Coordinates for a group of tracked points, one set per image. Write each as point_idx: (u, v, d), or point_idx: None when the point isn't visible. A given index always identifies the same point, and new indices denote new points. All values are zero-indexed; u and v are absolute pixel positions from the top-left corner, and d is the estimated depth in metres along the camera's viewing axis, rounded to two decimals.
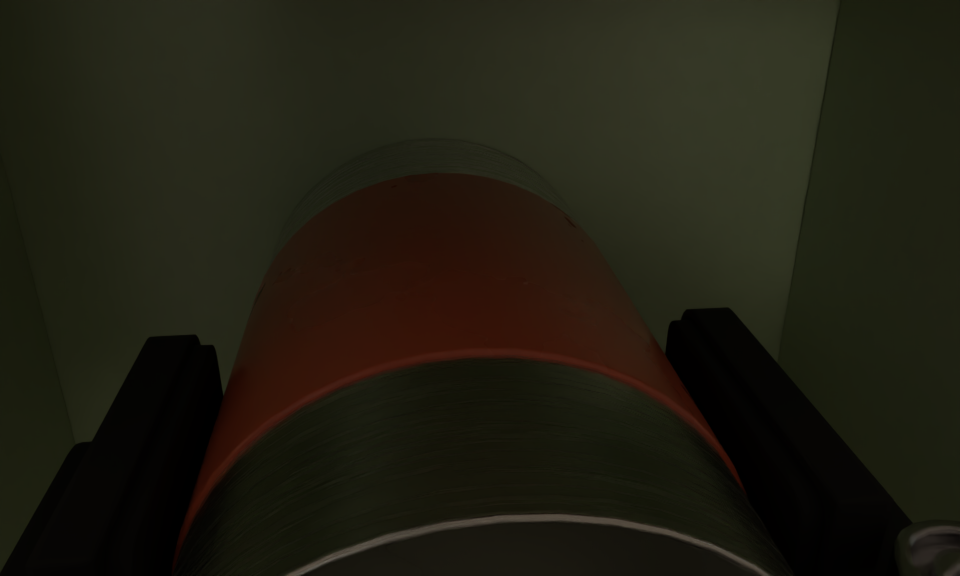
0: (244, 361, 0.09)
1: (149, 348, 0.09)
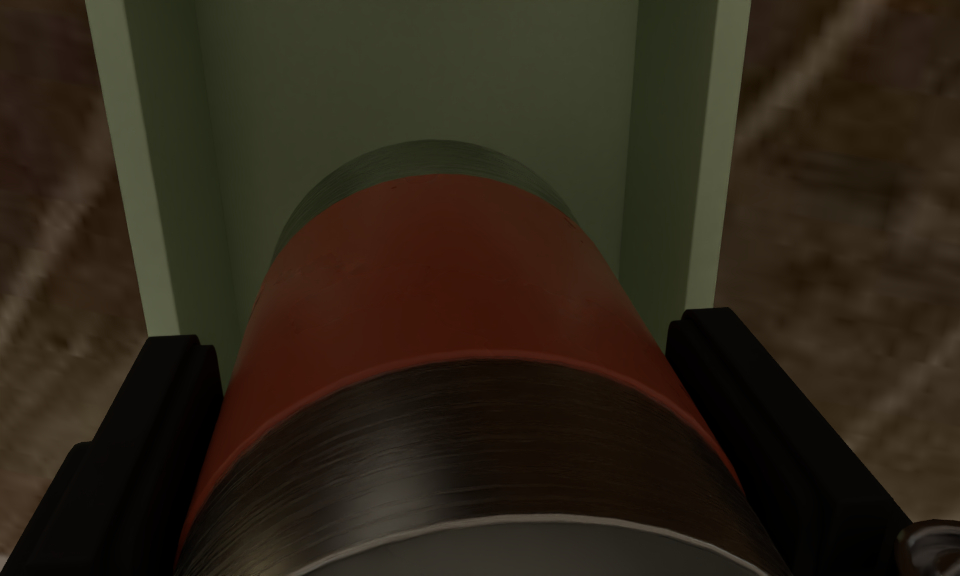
0: (245, 362, 0.09)
1: (149, 348, 0.09)
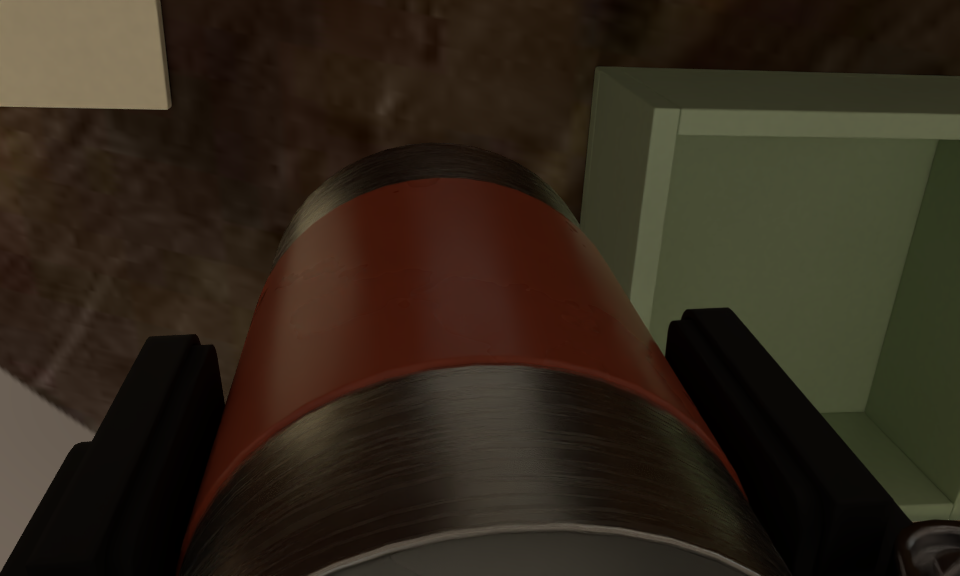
0: (247, 367, 0.09)
1: (149, 348, 0.09)
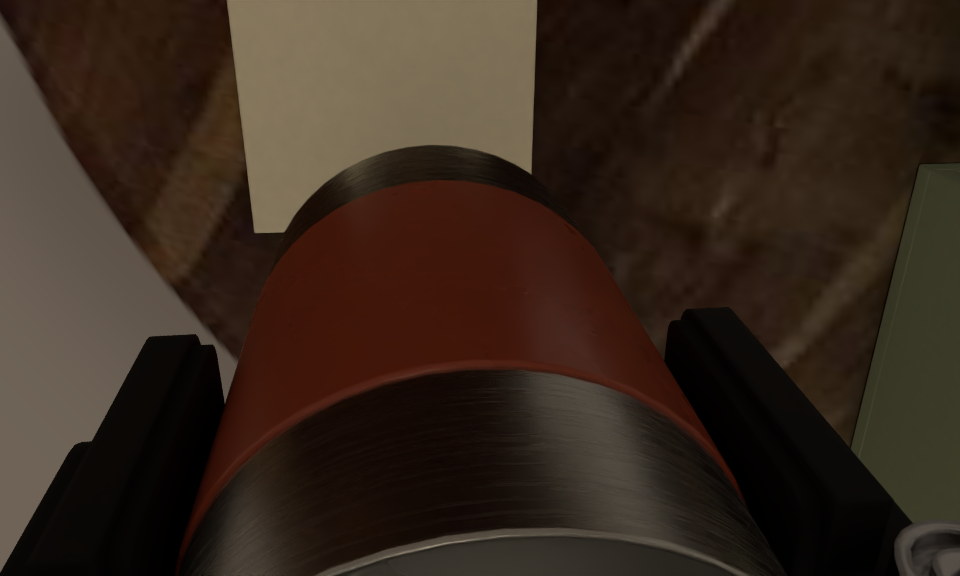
0: (245, 370, 0.09)
1: (149, 348, 0.09)
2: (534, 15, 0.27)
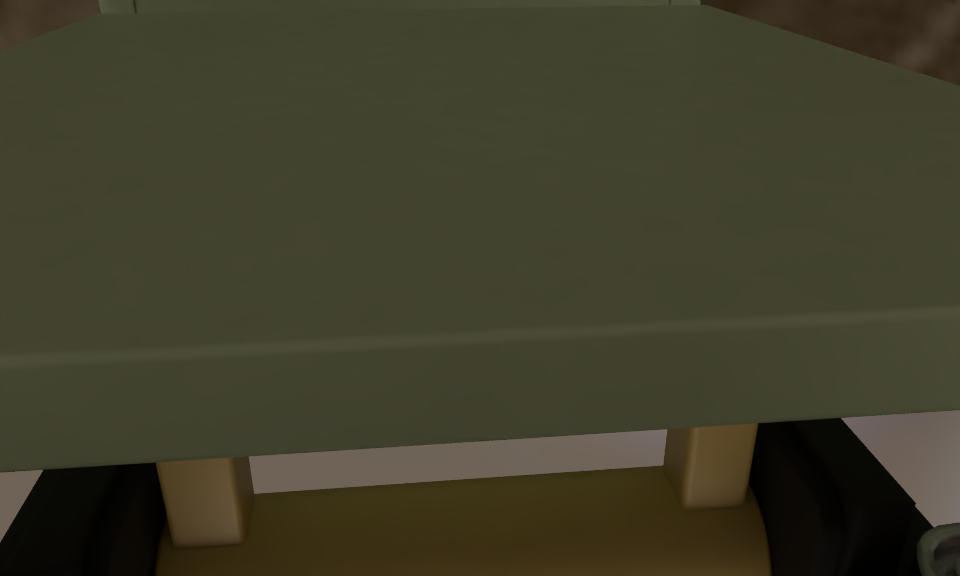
0: None
1: None
2: None
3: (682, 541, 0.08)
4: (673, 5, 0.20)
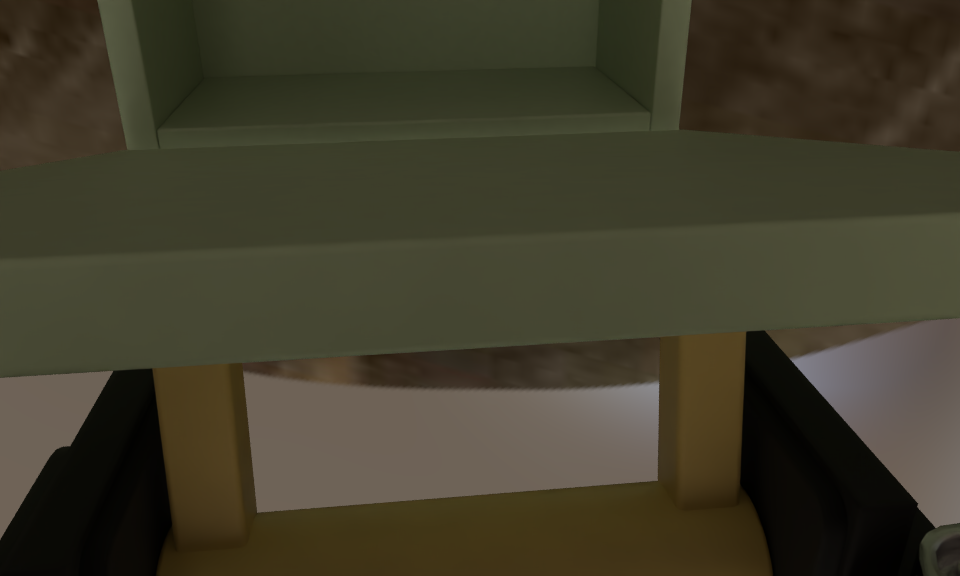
0: None
1: None
2: None
3: (679, 538, 0.08)
4: None
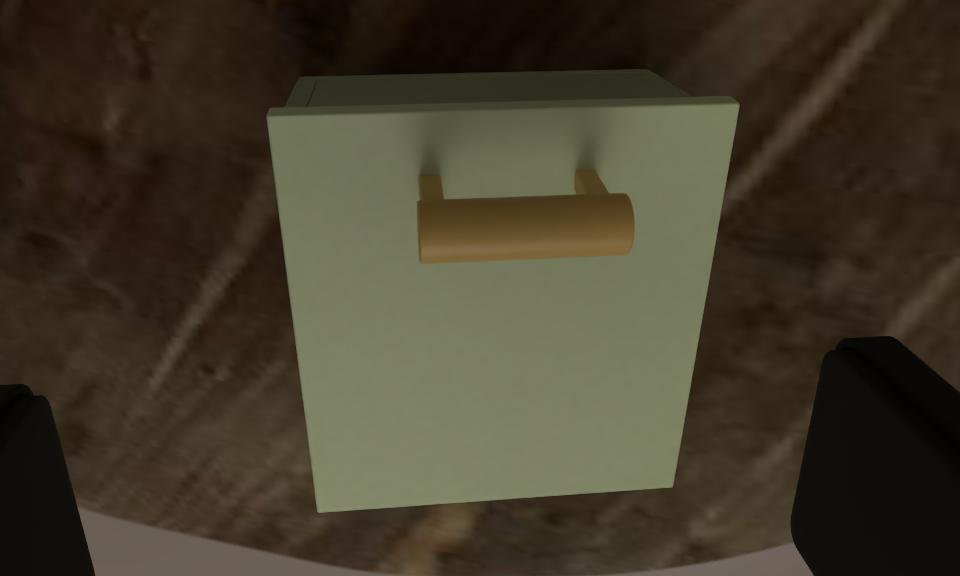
0: None
1: None
2: None
3: None
4: None
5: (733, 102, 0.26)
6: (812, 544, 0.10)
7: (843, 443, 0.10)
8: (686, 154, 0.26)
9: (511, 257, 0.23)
